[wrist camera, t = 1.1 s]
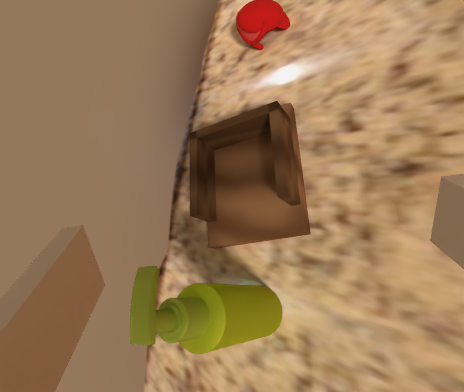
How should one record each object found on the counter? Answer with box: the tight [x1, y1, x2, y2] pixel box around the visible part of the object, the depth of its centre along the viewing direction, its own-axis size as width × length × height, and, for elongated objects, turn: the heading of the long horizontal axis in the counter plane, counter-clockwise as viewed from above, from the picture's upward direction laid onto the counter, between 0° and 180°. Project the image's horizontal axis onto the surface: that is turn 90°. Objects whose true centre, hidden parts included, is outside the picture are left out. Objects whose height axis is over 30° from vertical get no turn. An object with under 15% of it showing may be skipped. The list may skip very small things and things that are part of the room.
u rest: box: [190, 101, 310, 248], centre depth 41 cm, size 18×14×6 cm
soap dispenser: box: [130, 266, 282, 354], centre depth 30 cm, size 6×7×20 cm
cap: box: [236, 0, 290, 50], centre depth 47 cm, size 8×6×6 cm
